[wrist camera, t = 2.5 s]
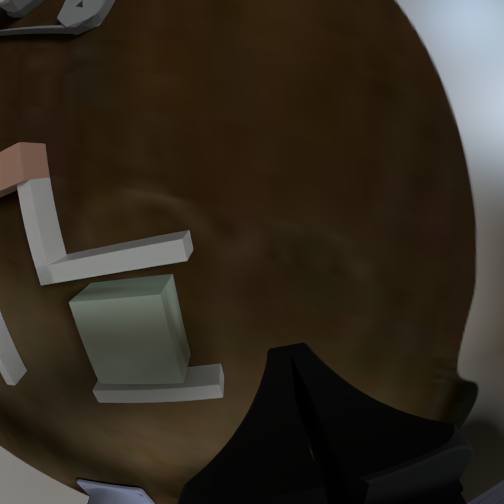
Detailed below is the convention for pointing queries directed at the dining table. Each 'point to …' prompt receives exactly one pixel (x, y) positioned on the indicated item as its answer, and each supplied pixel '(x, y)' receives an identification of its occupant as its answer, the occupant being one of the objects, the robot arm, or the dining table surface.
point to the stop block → (22, 165)
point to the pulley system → (60, 16)
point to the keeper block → (133, 330)
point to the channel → (95, 264)
